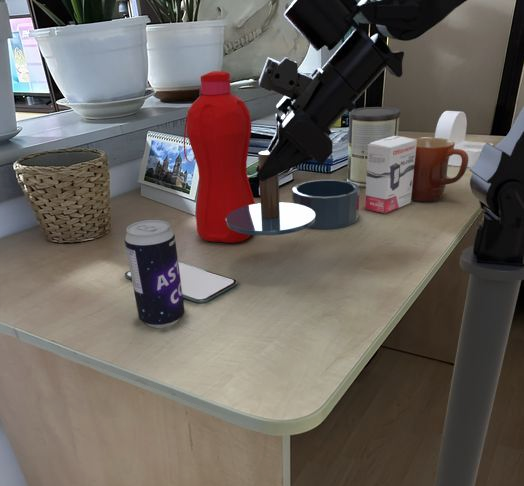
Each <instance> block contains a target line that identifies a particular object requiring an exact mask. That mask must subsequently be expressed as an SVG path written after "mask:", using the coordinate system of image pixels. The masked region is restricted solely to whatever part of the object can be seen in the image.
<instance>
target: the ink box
mask: <svg viewBox="0 0 524 486" xmlns="http://www.w3.org/2000/svg"><path fill="white" fill-rule="evenodd" d="M416 139H417V138H411V137H406V136H402V135H401V136H400V135H398V136H392V137H388V138H385V139H381V140H378V141H375V142H371V143H370V144H368V157H367V177H366V187H365V199H364V209H365V210H369V211H373V212H376V213H381V214H388V213H391V212H392V211H395V210H397V209H400V208H402V207H404V206H407V205H410V204H411V203H412V200H411V194H412V185H413V175H414V165H415V156H416V146H417V140H416Z"/></svg>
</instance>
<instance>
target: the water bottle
mask: <svg viewBox="0 0 524 486" xmlns="http://www.w3.org/2000/svg"><path fill="white" fill-rule="evenodd" d="M232 81H233V79H231V74H230V72H228V71H224V70H213V71H210V72H207V73H205V74H203V75H200V86H201V87H199V88H198V91H199V94H198V95H199V96H198V97H197V98H196V99H195V100H194V101H193V103H192V104H191V105H190V107H189V108H188V110H187V113H186V114H187V115H186V118H185V124H184V131H183V153H184V158H185V160H186V161H187V162H188V163H194V161H195V162H196V166H197V172H198V184H197V185H198V186H197V195H196V204H195V205H196V206H195V219H196V220H195V222H196V223H195V224H196V231H197V234H198V236H199V237H200V239H202V240H204V241H205V242H214V243H215V242H216V243H227V244H237V243H242V242H244V241H246V240H247V239H248V238H250V237H251V235H250V234H244V233H240V232H236V231H234V230H232V229H230V228H229V227H228V226H227V225H226V216H227V215H228V214H229V213H230V212H232V211H233V210H235V209H238V208H241V207H244V206H248V205H252V204H256V201H255V198H254V195H253V192H252V189H251V184H250V181H249V177H248V171H247V162H248V157H249V156H248V155H249V149H250V141H251V135H252V119H251V115H250V110H249V108H248V107H247V105H246V103H245V101H243V100H242V99H241V98H240V97H238V96H236V95H234V94H233V93H231V92H232V89H231V82H232ZM186 135H187V138H188V142H189V145H190V147H191V150H192V153H193V160H192V161H190V160H189V159H188V156H187V153H186Z"/></svg>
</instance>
